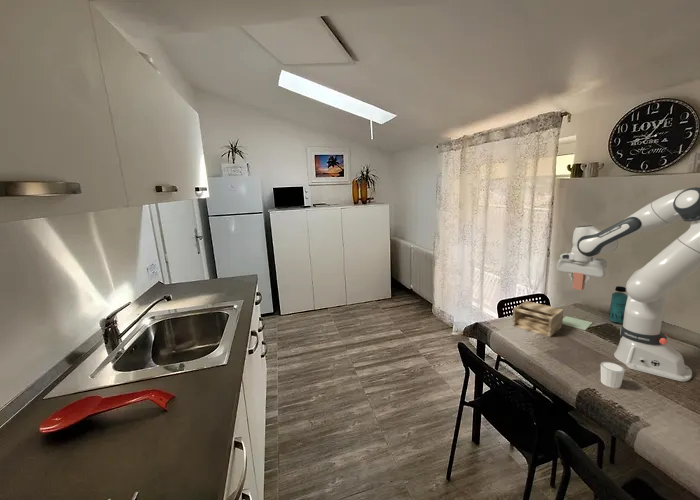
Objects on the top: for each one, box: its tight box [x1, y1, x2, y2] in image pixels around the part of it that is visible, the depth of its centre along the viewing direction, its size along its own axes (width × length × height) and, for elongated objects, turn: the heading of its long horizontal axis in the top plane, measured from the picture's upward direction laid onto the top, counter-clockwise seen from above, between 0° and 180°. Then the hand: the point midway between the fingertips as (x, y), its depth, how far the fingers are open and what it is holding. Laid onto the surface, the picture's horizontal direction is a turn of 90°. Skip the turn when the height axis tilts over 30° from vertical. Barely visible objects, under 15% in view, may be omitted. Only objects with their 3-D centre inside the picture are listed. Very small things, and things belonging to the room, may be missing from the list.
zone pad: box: [562, 315, 593, 331], centre depth 161 cm, size 12×12×1 cm
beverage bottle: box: [608, 285, 628, 323], centre depth 157 cm, size 6×7×20 cm
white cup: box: [600, 361, 626, 389], centre depth 112 cm, size 7×7×7 cm
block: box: [572, 272, 587, 291], centre depth 156 cm, size 4×4×9 cm
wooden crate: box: [512, 300, 564, 338], centre depth 159 cm, size 18×16×10 cm
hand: (578, 282), depth 156 cm, fingers closed on block, 4 cm apart
